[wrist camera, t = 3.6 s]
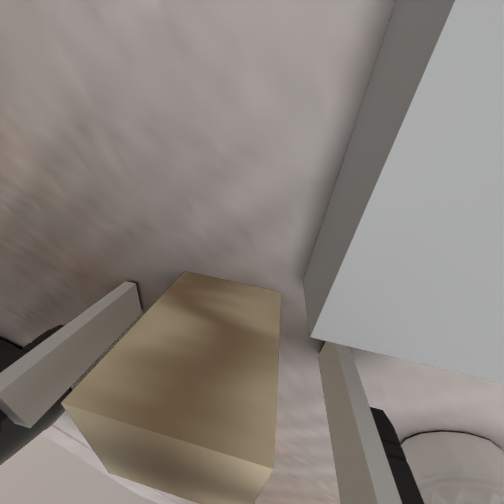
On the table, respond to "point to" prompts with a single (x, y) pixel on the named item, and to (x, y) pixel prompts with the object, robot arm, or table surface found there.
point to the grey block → (422, 198)
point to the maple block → (189, 393)
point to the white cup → (456, 468)
